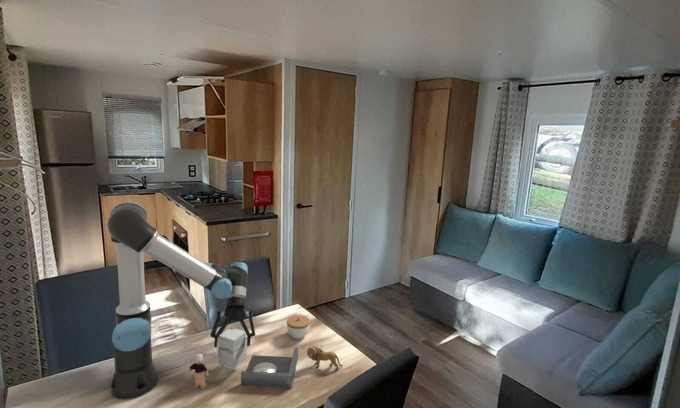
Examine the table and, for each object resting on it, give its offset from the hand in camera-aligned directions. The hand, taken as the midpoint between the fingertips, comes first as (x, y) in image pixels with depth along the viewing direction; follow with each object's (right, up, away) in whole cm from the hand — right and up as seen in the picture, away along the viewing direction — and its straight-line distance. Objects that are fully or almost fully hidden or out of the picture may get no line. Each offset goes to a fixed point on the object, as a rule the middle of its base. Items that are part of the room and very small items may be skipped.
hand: (231, 355), depth 138 cm
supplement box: (-1, -4, +4) cm, 6 cm away
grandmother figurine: (-10, -9, -5) cm, 15 cm away
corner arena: (+14, -8, +4) cm, 17 cm away
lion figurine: (+35, -8, +8) cm, 37 cm away
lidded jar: (+22, -4, +30) cm, 37 cm away
